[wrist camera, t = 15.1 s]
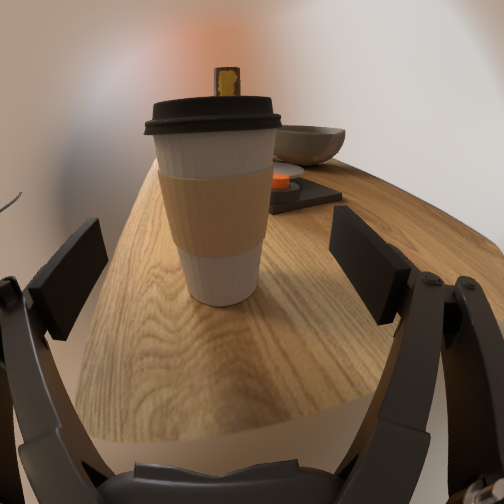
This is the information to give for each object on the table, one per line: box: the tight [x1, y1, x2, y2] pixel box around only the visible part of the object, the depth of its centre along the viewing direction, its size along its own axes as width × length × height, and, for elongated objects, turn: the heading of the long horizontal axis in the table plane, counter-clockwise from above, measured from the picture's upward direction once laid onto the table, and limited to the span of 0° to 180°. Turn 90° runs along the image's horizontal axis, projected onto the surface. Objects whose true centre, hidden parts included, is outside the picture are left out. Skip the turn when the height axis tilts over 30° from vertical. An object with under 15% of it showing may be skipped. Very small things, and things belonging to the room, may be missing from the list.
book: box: [214, 67, 240, 96], centre depth 72 cm, size 22×8×25 cm, turn 7°
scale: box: [269, 177, 342, 214], centre depth 47 cm, size 18×14×3 cm
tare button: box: [272, 174, 290, 189], centre depth 40 cm, size 3×3×2 cm
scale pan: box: [272, 162, 304, 179], centre depth 48 cm, size 12×12×1 cm
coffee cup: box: [144, 96, 283, 307], centre depth 20 cm, size 9×9×15 cm
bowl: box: [274, 125, 345, 166], centre depth 67 cm, size 20×20×10 cm
